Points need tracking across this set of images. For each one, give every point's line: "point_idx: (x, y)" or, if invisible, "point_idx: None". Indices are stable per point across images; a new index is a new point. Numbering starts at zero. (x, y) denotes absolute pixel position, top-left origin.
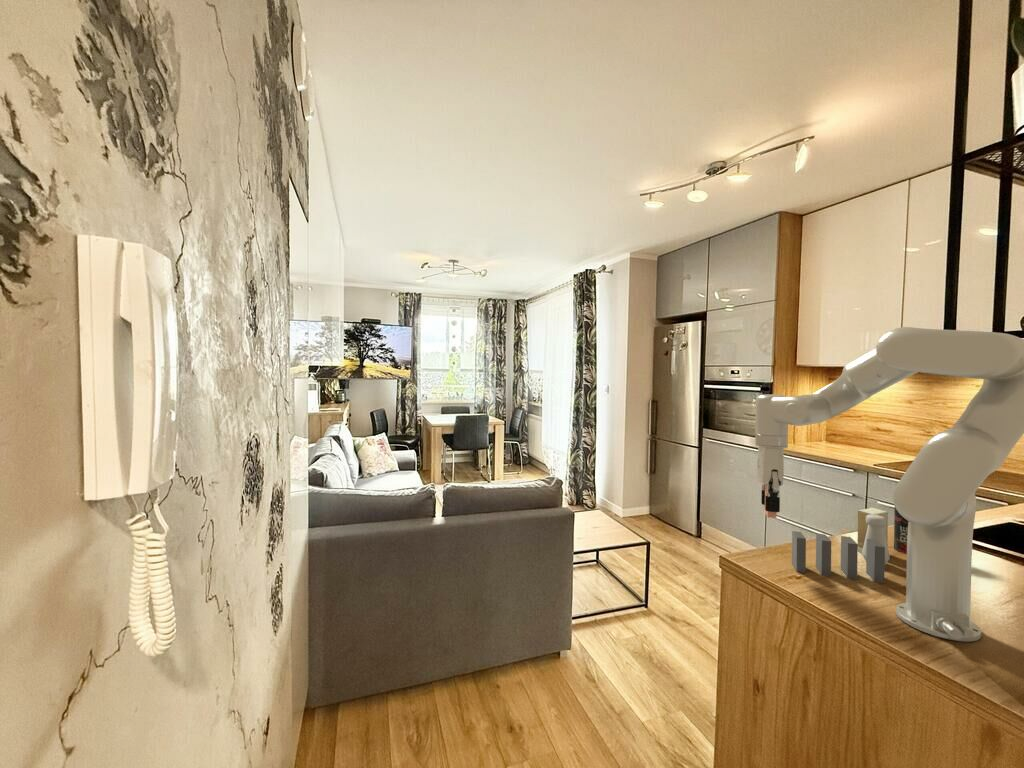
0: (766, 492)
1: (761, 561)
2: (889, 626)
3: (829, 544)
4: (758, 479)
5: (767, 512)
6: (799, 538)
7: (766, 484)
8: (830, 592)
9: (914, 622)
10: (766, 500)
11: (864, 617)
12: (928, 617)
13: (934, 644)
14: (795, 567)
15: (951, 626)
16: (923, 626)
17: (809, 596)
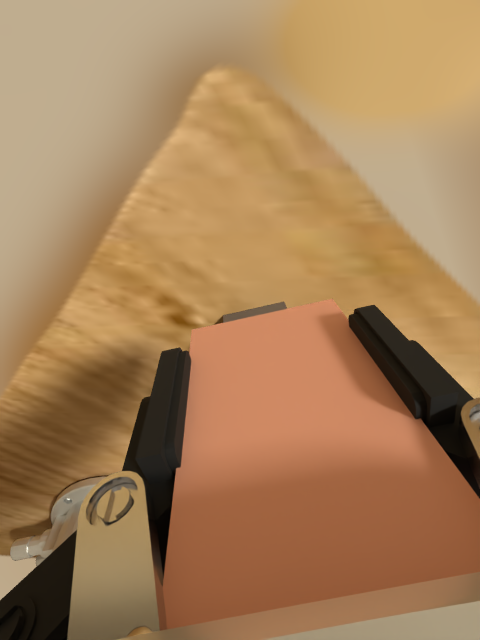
0: (293, 458)
1: (255, 210)
2: (38, 464)
3: None
4: (432, 622)
5: (206, 343)
6: None
7: (339, 586)
8: (131, 386)
9: (61, 500)
10: (146, 421)
11: (42, 435)
12: (60, 529)
13: (24, 505)
14: (237, 316)
15: (20, 556)
16: (55, 508)
17: (64, 347)
